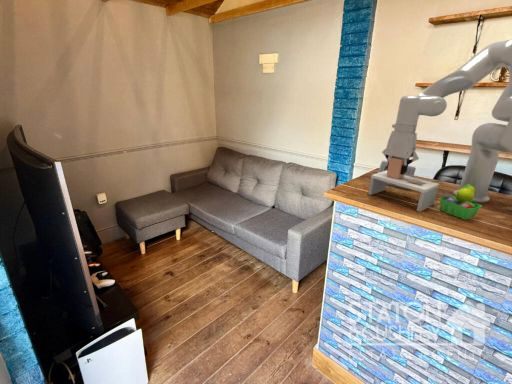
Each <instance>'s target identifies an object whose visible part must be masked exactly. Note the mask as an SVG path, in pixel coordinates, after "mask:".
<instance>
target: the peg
mask: <svg viewBox="0 0 512 384" xmlns="http://www.w3.org/2000/svg"><path fill="white" fill-rule="evenodd" d="M403 164H404V163H403V158H399V157H390V160H389V165H388V170H387V175H386V176H389V177H393V178H397V179H399V178H402V177H404V175H405V174H402V175H401V174H400V173H401V168H402V165H403ZM389 184H392V183H389ZM392 185H395V184H392Z"/></svg>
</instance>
